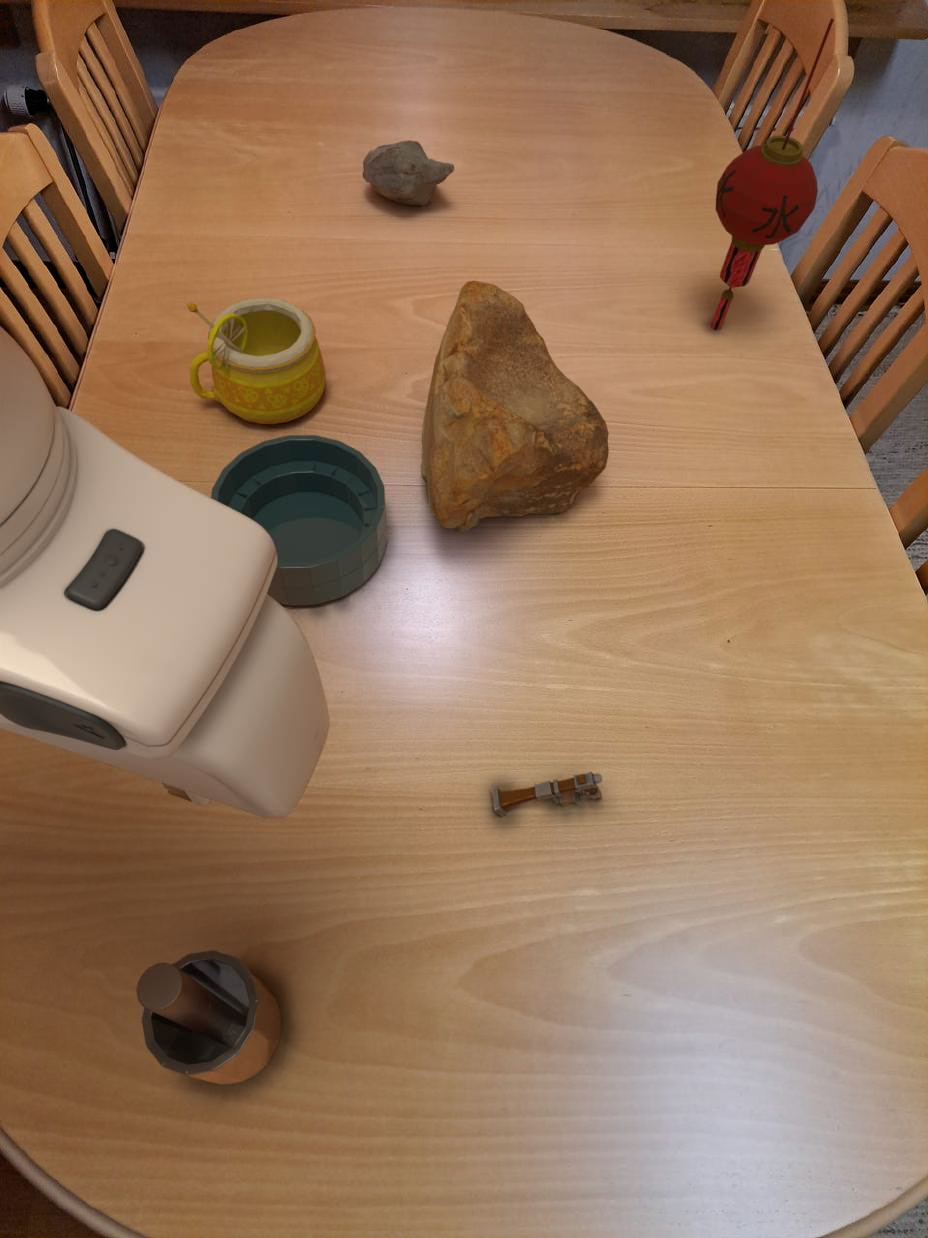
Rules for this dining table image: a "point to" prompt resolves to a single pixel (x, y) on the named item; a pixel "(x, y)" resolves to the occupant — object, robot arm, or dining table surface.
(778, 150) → the lantern
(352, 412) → the dining table surface
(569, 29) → the dining table surface
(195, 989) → the stick
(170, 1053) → the holder
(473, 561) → the dining table surface
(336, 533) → the bowl
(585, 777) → the wooden lamp post
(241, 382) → the mug
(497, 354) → the orange rock
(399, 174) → the fossil
